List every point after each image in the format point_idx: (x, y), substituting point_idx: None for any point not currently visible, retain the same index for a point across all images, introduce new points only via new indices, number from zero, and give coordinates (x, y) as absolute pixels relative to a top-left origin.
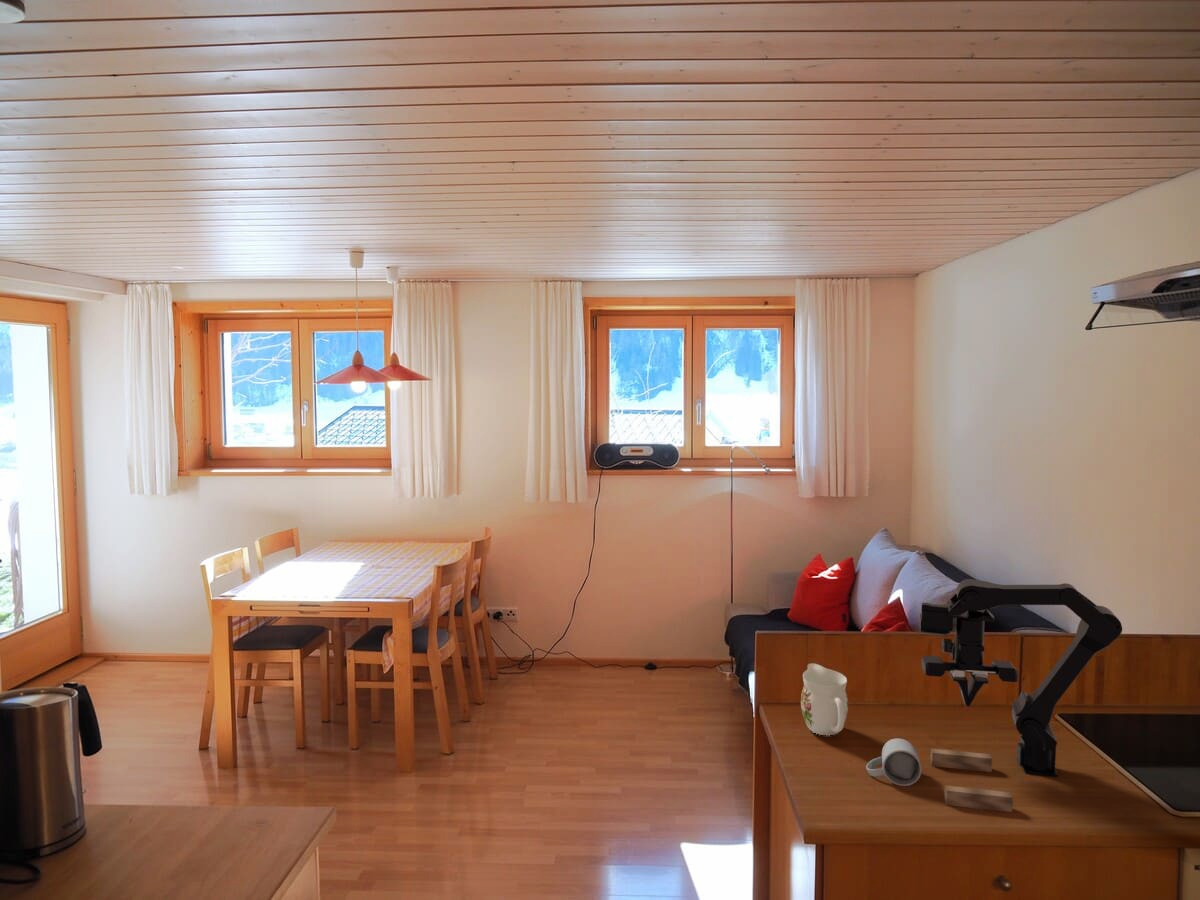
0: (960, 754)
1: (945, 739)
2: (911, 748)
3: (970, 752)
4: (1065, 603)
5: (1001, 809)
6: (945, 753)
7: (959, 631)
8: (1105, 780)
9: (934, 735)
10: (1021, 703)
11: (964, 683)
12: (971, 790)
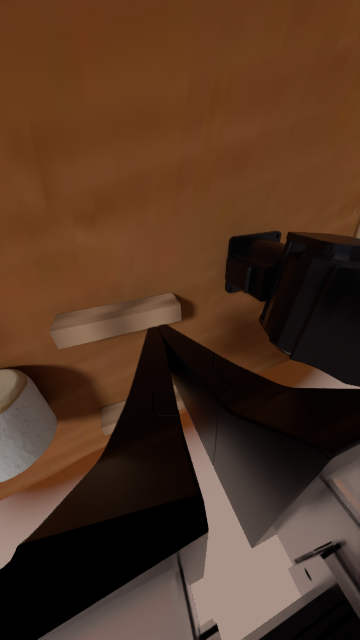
0: (121, 330)
1: (69, 154)
2: (15, 448)
3: (142, 312)
4: None
5: None
6: (89, 340)
7: None
8: None
9: (23, 121)
10: (348, 342)
11: (173, 538)
12: None
